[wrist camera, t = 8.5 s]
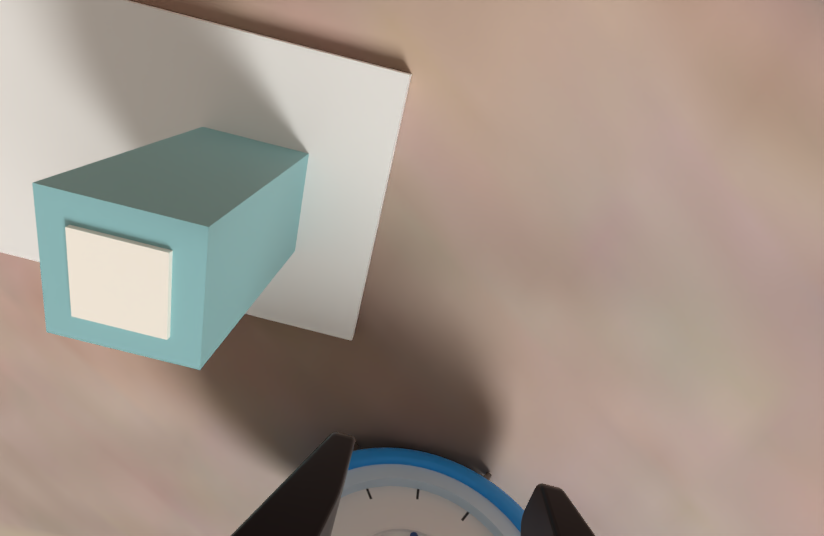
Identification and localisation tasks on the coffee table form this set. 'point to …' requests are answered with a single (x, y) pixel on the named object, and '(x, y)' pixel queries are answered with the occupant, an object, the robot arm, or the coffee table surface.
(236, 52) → the mat
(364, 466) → the alarm clock
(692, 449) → the coffee table surface
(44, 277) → the block
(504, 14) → the coffee table surface
